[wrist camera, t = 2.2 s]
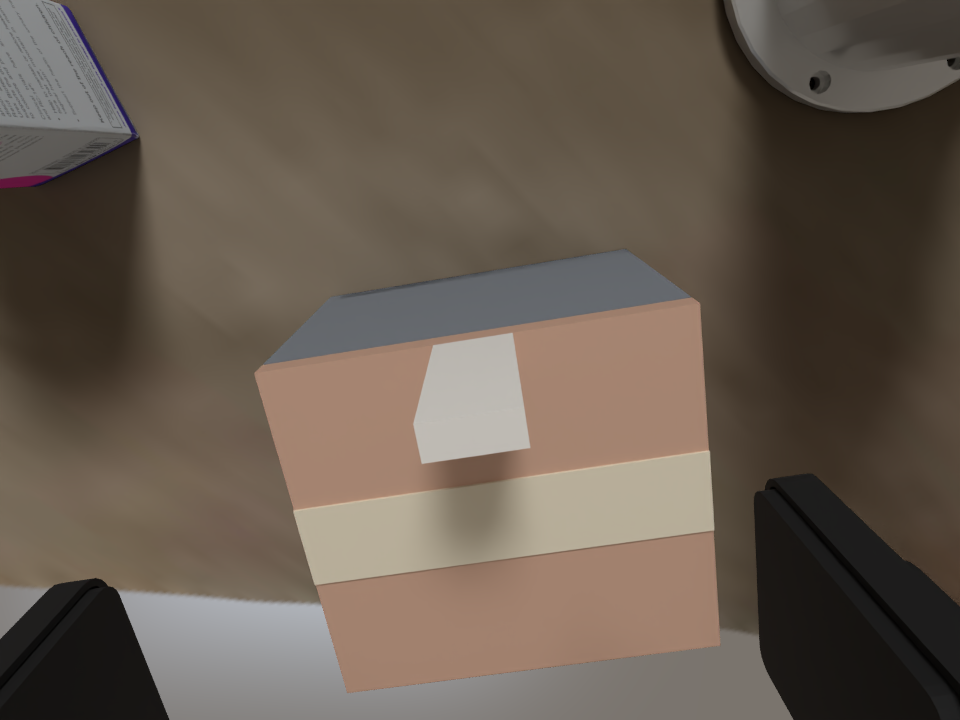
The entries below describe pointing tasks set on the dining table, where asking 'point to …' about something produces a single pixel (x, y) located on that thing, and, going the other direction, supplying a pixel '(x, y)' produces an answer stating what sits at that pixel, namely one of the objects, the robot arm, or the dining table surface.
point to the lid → (505, 495)
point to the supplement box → (52, 96)
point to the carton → (478, 303)
